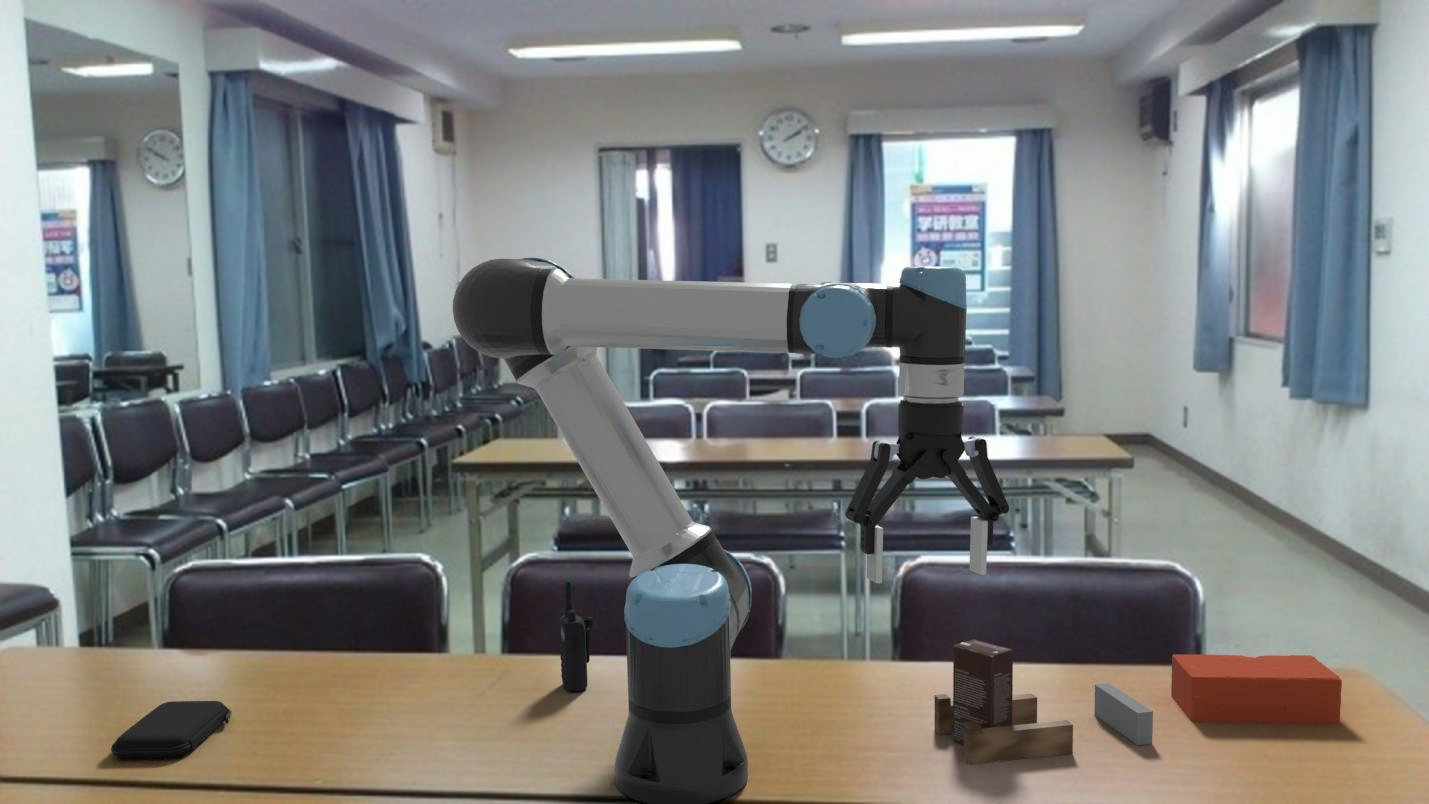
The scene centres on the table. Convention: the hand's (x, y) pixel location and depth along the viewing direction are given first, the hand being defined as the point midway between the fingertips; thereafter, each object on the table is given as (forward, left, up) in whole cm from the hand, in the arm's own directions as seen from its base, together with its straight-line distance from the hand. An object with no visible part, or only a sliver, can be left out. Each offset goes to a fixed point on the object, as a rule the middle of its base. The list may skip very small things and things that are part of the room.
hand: (926, 576), depth 140 cm
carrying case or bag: (-91, +24, -21) cm, 96 cm away
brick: (+44, 0, -21) cm, 49 cm away
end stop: (+25, -2, -21) cm, 33 cm away
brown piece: (+9, -2, -21) cm, 23 cm away
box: (+6, -2, -21) cm, 22 cm away
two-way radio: (-40, +30, -21) cm, 54 cm away
